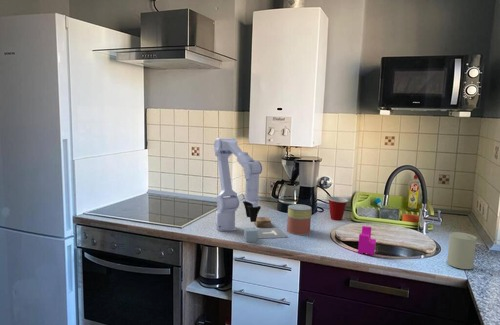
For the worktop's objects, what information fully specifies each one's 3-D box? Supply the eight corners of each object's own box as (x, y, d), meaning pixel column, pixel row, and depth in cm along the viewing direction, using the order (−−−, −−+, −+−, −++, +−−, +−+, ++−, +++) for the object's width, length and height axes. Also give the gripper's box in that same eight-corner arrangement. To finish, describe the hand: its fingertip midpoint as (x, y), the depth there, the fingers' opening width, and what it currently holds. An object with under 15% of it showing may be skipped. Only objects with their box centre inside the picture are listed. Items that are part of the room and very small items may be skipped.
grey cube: (246, 242, 164) (246, 231, 164) (243, 238, 169) (244, 227, 169) (257, 241, 166) (257, 230, 165) (254, 238, 170) (254, 227, 170)
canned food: (314, 231, 183) (315, 206, 182) (303, 236, 174) (304, 211, 173) (293, 226, 190) (295, 203, 188) (282, 231, 181) (283, 207, 179)
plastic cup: (345, 223, 197) (346, 201, 196) (324, 221, 201) (326, 199, 200) (348, 218, 207) (349, 197, 206) (328, 216, 211) (329, 195, 210)
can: (466, 271, 140) (470, 239, 138) (442, 263, 147) (445, 233, 146) (478, 266, 145) (481, 235, 144) (453, 258, 153) (456, 229, 151)
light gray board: (258, 238, 169) (258, 238, 169) (251, 229, 183) (251, 229, 183) (288, 237, 173) (288, 236, 173) (278, 228, 186) (278, 227, 186)
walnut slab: (256, 228, 187) (257, 221, 186) (254, 223, 193) (254, 217, 193) (270, 227, 188) (270, 220, 187) (267, 223, 195) (267, 217, 194)
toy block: (373, 255, 154) (375, 237, 153) (358, 252, 156) (359, 235, 155) (376, 244, 168) (377, 227, 167) (361, 241, 170) (362, 225, 169)
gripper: (265, 192, 159) (264, 223, 160) (256, 185, 173) (255, 214, 174) (249, 192, 157) (248, 224, 159) (241, 186, 171) (240, 215, 173)
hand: (251, 219), depth 166 cm, fingers open, 7 cm apart
